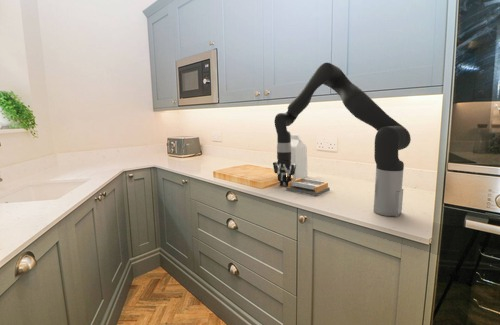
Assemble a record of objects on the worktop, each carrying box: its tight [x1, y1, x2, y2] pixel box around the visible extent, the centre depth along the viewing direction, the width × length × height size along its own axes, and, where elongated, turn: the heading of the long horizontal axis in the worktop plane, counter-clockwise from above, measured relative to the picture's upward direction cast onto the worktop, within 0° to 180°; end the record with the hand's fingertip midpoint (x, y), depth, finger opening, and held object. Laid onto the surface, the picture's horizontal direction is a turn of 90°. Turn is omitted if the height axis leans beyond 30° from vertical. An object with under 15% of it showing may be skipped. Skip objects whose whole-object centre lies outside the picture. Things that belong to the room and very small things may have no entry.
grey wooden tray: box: [291, 177, 326, 190], centre depth 139 cm, size 13×10×2 cm
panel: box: [285, 178, 331, 197], centre depth 139 cm, size 17×14×4 cm
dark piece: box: [276, 168, 289, 187], centre depth 149 cm, size 7×5×10 cm
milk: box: [290, 134, 309, 181], centre depth 167 cm, size 12×12×26 cm
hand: (284, 181), depth 149 cm, fingers open, 5 cm apart
